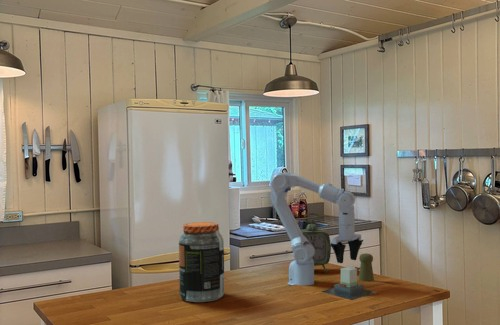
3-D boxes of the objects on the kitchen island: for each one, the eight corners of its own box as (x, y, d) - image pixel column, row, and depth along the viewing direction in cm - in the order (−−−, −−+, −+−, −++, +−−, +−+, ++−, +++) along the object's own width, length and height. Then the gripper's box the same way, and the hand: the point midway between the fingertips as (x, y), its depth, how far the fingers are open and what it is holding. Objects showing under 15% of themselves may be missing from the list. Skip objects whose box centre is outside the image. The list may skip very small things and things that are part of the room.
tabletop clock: (296, 274, 207) (295, 214, 206) (294, 269, 216) (293, 212, 216) (331, 273, 207) (330, 214, 207) (327, 268, 216) (327, 211, 216)
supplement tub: (232, 294, 178) (232, 222, 177) (208, 306, 164) (207, 228, 164) (196, 289, 185) (195, 219, 185) (170, 300, 171) (169, 225, 171)
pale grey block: (340, 286, 176) (340, 268, 176) (348, 284, 179) (347, 266, 179) (349, 289, 173) (349, 270, 173) (357, 286, 175) (357, 268, 175)
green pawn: (374, 284, 190) (374, 255, 189) (358, 283, 191) (358, 255, 191) (373, 280, 196) (373, 252, 195) (358, 279, 197) (358, 252, 197)
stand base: (320, 294, 177) (320, 282, 177) (346, 287, 186) (346, 275, 186) (351, 303, 166) (351, 290, 166) (377, 295, 175) (377, 283, 175)
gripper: (342, 227, 175) (342, 265, 175) (367, 223, 184) (367, 260, 184) (327, 225, 180) (327, 262, 180) (352, 221, 189) (352, 257, 190)
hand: (346, 261), depth 183 cm, fingers open, 7 cm apart
